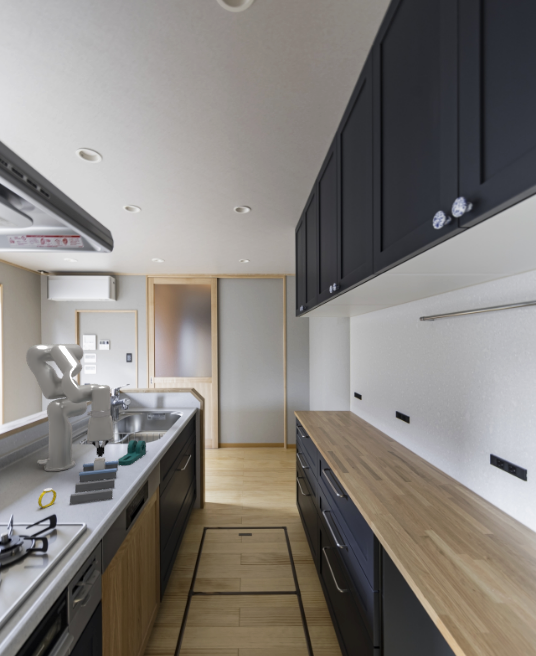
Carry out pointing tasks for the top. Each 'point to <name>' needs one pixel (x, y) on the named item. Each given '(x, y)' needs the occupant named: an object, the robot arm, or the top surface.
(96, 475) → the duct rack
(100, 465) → the off-white rectangular prism
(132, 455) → the bracket
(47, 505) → the watch
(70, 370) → the robot arm
